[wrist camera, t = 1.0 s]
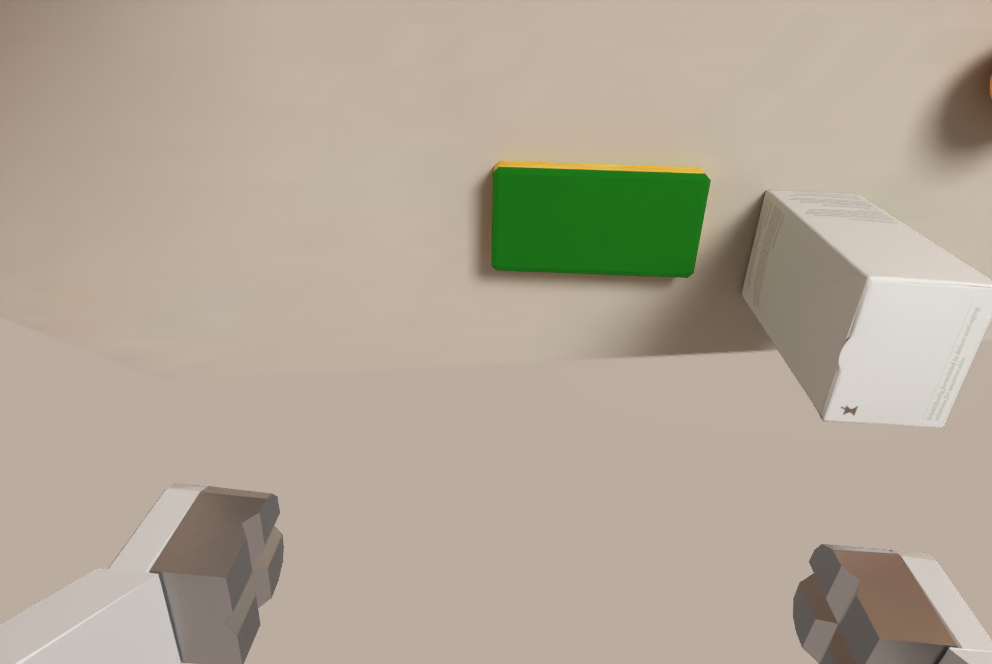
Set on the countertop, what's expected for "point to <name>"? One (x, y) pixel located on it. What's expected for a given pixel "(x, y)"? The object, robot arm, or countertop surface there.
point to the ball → (991, 86)
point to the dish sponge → (597, 218)
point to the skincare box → (864, 308)
